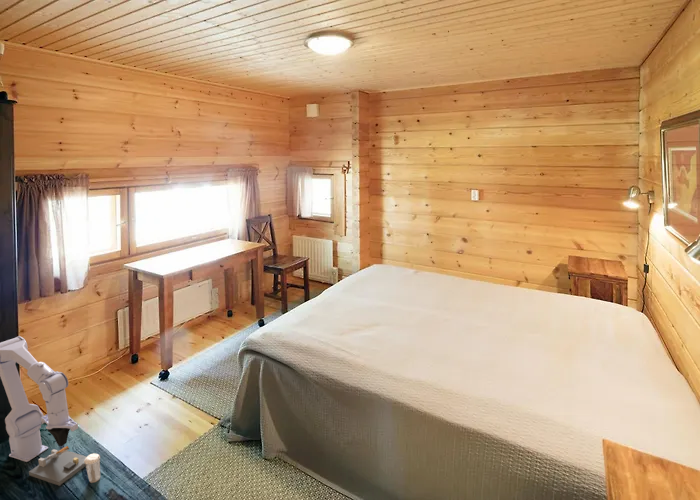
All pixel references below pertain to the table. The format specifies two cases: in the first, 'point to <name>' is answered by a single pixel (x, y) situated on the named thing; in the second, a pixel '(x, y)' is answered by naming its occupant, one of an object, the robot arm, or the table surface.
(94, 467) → the milkshake
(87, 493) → the table surface
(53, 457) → the latch bar
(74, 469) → the base board
